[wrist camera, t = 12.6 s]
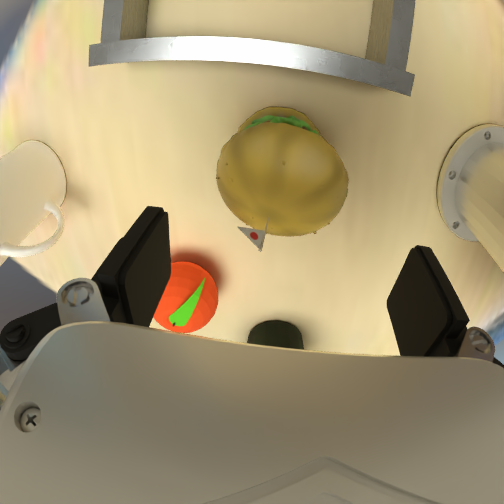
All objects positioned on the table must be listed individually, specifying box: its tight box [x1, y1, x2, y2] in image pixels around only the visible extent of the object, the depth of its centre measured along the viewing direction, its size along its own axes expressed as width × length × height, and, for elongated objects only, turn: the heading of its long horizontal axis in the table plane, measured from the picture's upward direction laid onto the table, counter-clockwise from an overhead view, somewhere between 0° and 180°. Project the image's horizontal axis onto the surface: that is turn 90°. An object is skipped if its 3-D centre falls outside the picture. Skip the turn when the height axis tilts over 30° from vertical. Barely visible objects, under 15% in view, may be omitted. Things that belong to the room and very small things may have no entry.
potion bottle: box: [247, 321, 304, 350], centre depth 30 cm, size 8×8×18 cm
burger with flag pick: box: [216, 107, 349, 251], centre depth 19 cm, size 8×7×12 cm
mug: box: [0, 140, 66, 266], centre depth 21 cm, size 12×8×12 cm
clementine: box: [153, 262, 218, 333], centre depth 29 cm, size 8×7×7 cm
